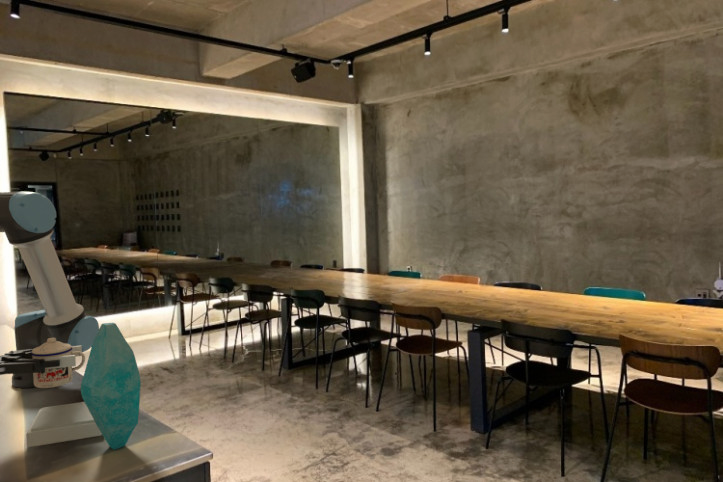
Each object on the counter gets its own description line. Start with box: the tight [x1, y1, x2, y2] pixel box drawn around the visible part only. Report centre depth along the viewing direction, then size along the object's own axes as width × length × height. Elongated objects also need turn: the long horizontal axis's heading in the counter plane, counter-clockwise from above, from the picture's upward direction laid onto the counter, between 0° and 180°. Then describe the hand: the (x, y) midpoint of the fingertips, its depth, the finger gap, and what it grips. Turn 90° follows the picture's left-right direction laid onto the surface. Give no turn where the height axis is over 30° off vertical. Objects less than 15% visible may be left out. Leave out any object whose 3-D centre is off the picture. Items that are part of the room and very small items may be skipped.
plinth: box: [25, 401, 103, 448], centre depth 134 cm, size 16×16×4 cm
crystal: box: [80, 322, 142, 450], centre depth 122 cm, size 12×14×30 cm
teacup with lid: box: [31, 338, 86, 389], centre depth 134 cm, size 12×9×12 cm
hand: (78, 355), depth 135 cm, fingers closed on teacup with lid, 9 cm apart
